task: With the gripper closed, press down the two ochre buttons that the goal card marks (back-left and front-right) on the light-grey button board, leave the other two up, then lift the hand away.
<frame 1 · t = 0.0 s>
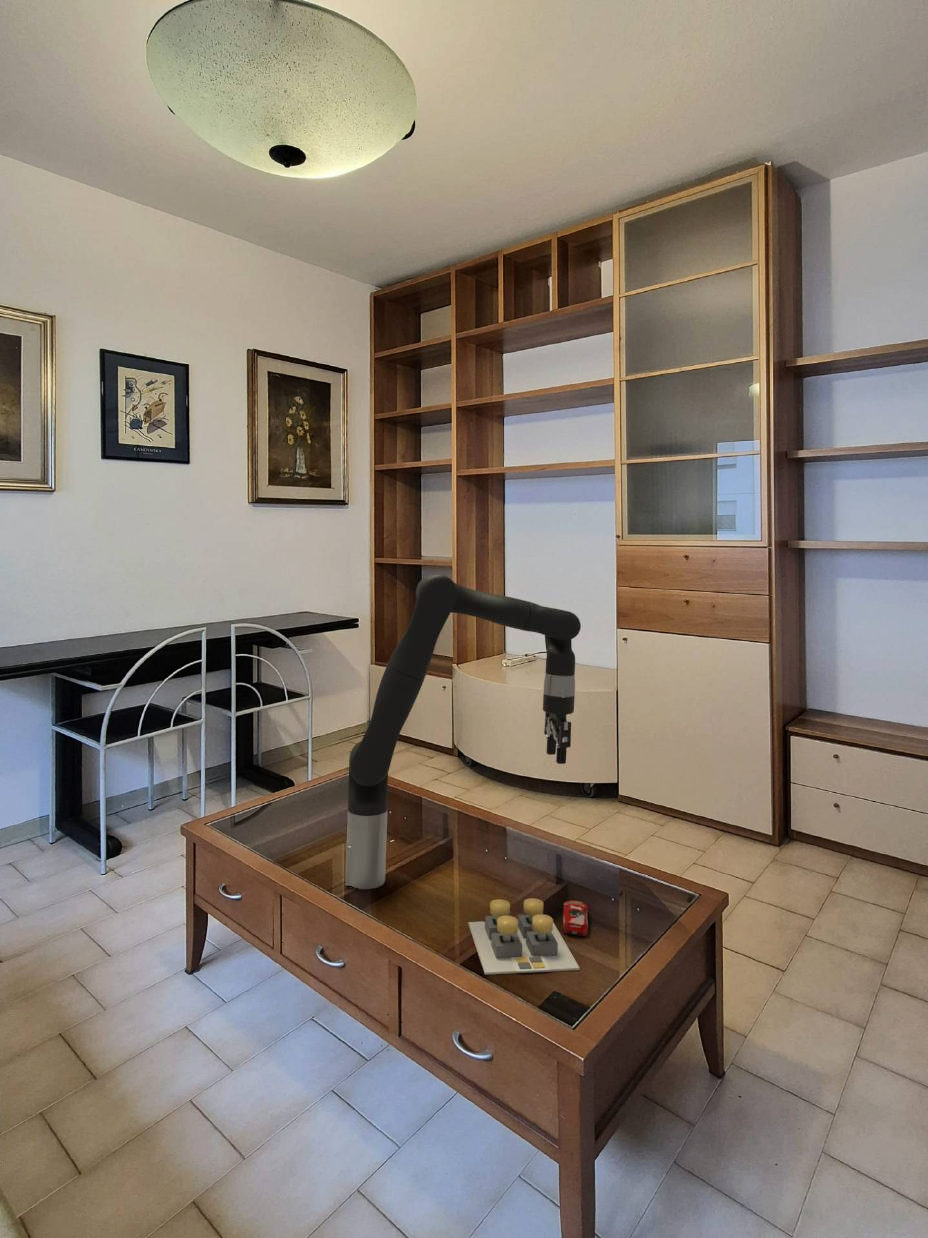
hand: (555, 758, 172), 29 cm above the table, fingers open, 8 cm apart
board: (520, 945, 140), on the table
button back left: (499, 914, 143), point 4 cm above the table, slide at 0.0 cm
button front right: (542, 930, 138), point 4 cm above the table, slide at 0.0 cm
button front left: (507, 931, 137), point 4 cm above the table, slide at 0.0 cm
race car: (575, 924, 150), on the table
button back right: (533, 913, 145), point 4 cm above the table, slide at 0.0 cm
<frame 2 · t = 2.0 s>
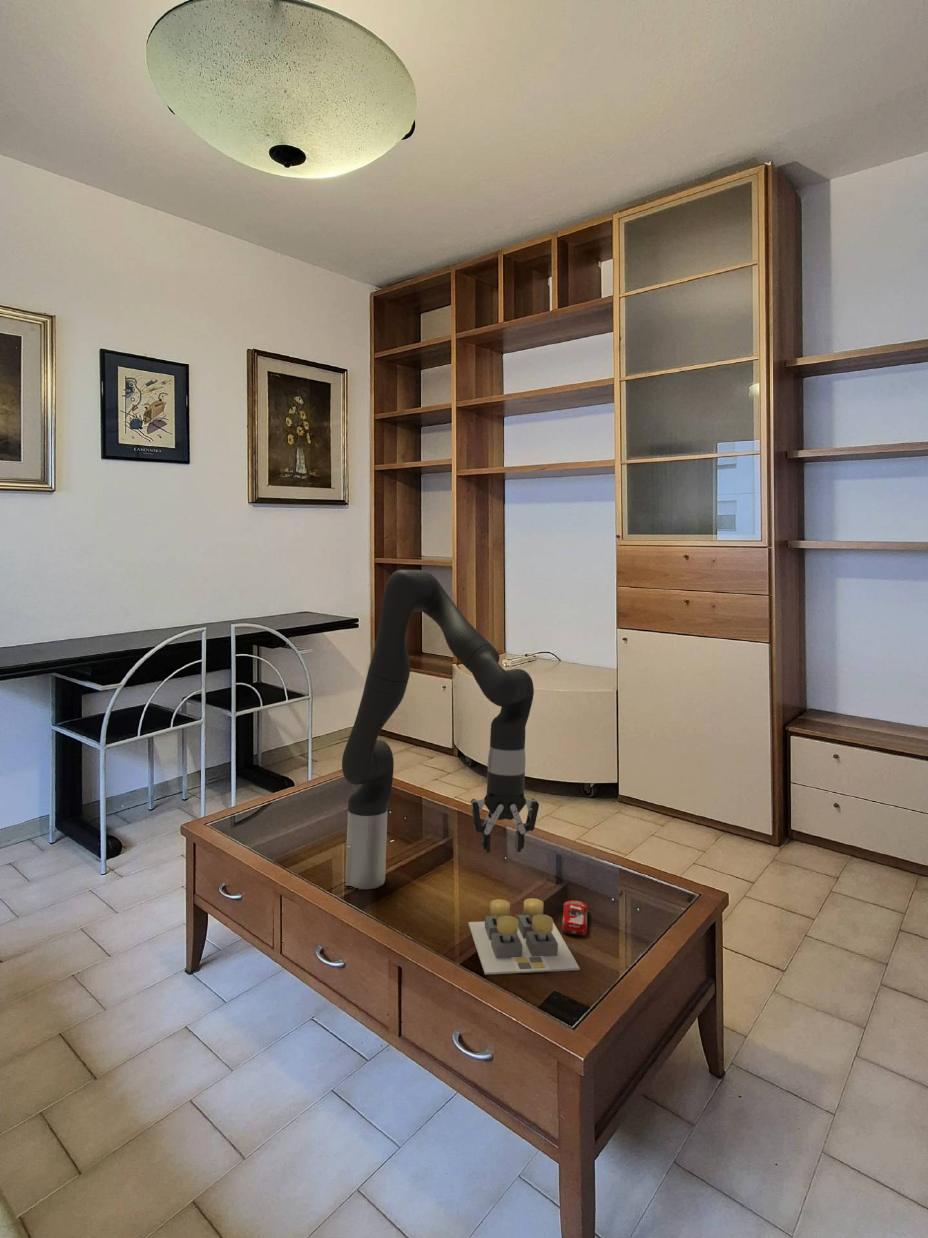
hand: (502, 850, 143), 18 cm above the table, fingers open, 5 cm apart
nothing on the table moved.
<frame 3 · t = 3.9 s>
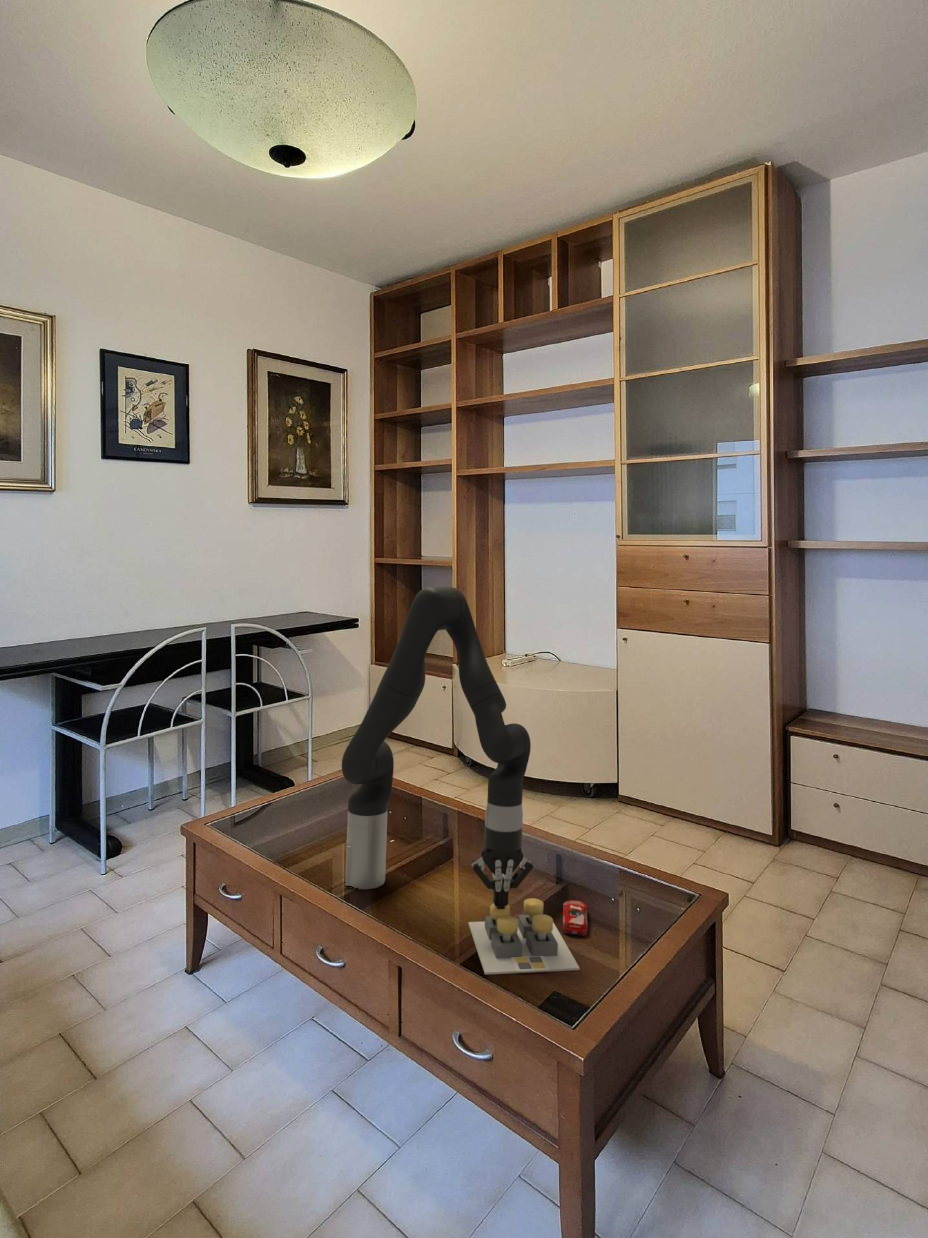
hand: (500, 907, 143), 6 cm above the table, fingers closed
button back left: (499, 917, 143), point 4 cm above the table, slide at 0.7 cm, touching gripper
everything else where it was.
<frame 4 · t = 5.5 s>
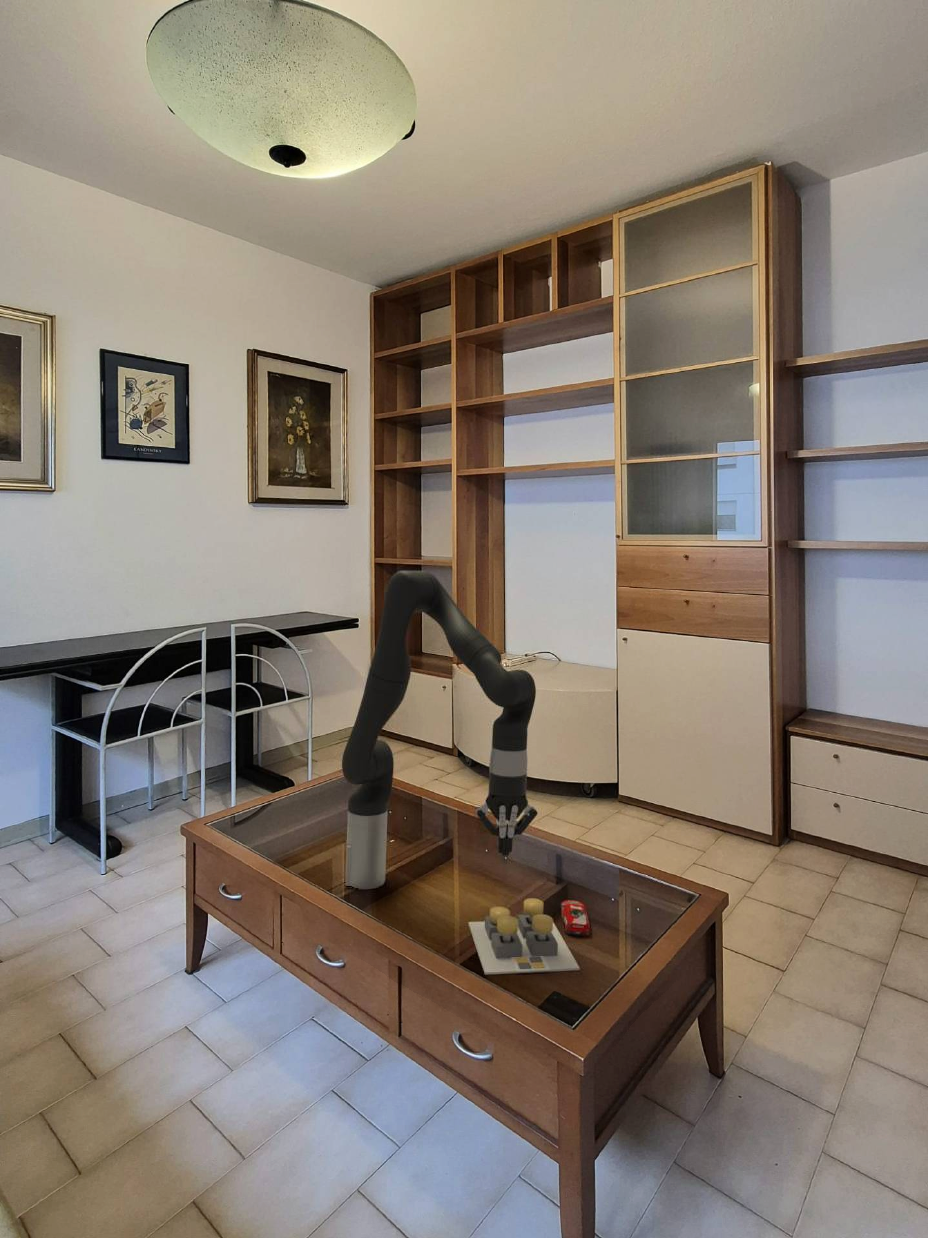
hand: (504, 854, 142), 17 cm above the table, fingers closed
button back left: (499, 921, 144), point 3 cm above the table, slide at 1.6 cm
everything else where it was.
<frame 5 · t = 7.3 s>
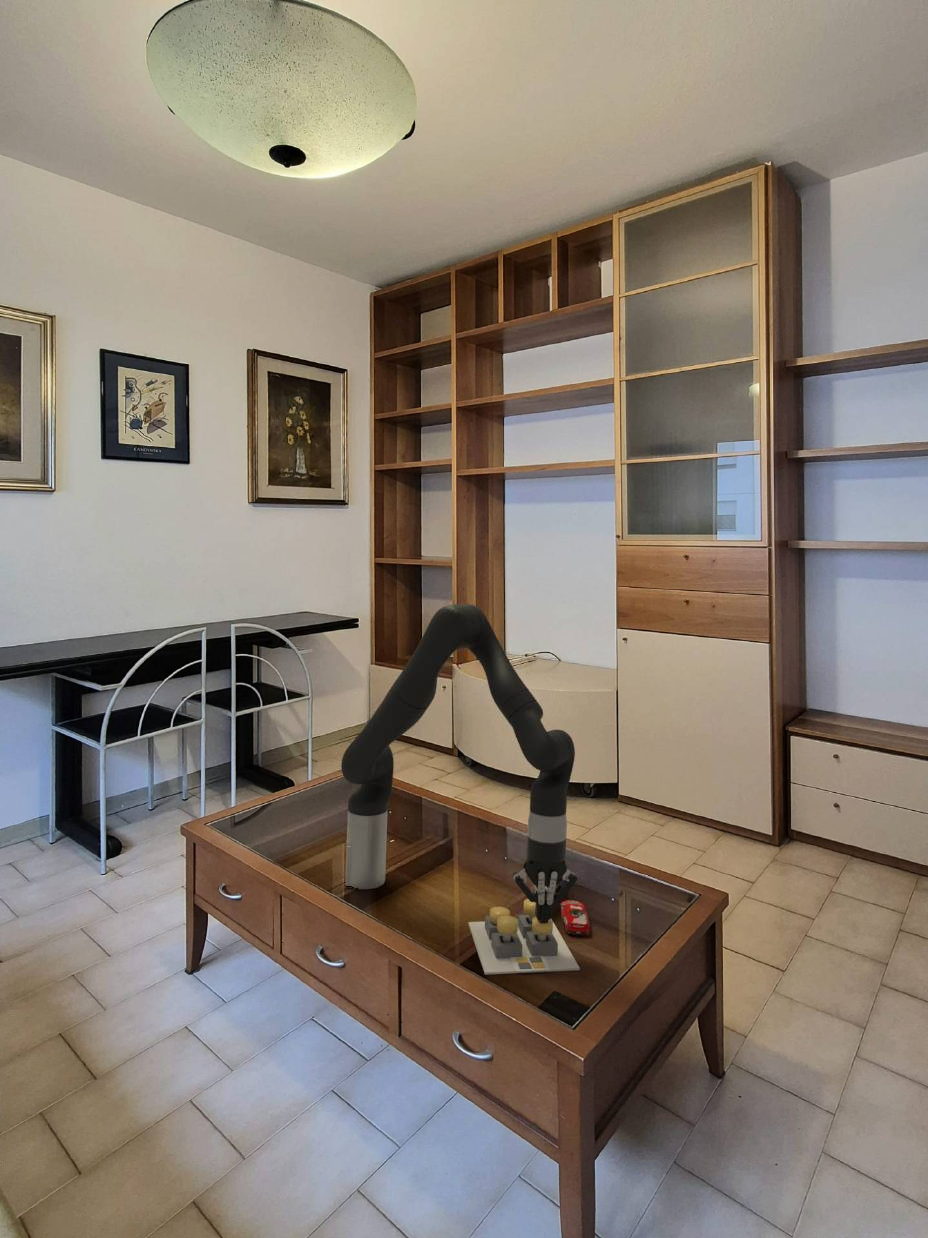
hand: (543, 921, 137), 6 cm above the table, fingers closed
button front right: (542, 932, 138), point 4 cm above the table, slide at 0.4 cm, touching gripper
everything else where it was.
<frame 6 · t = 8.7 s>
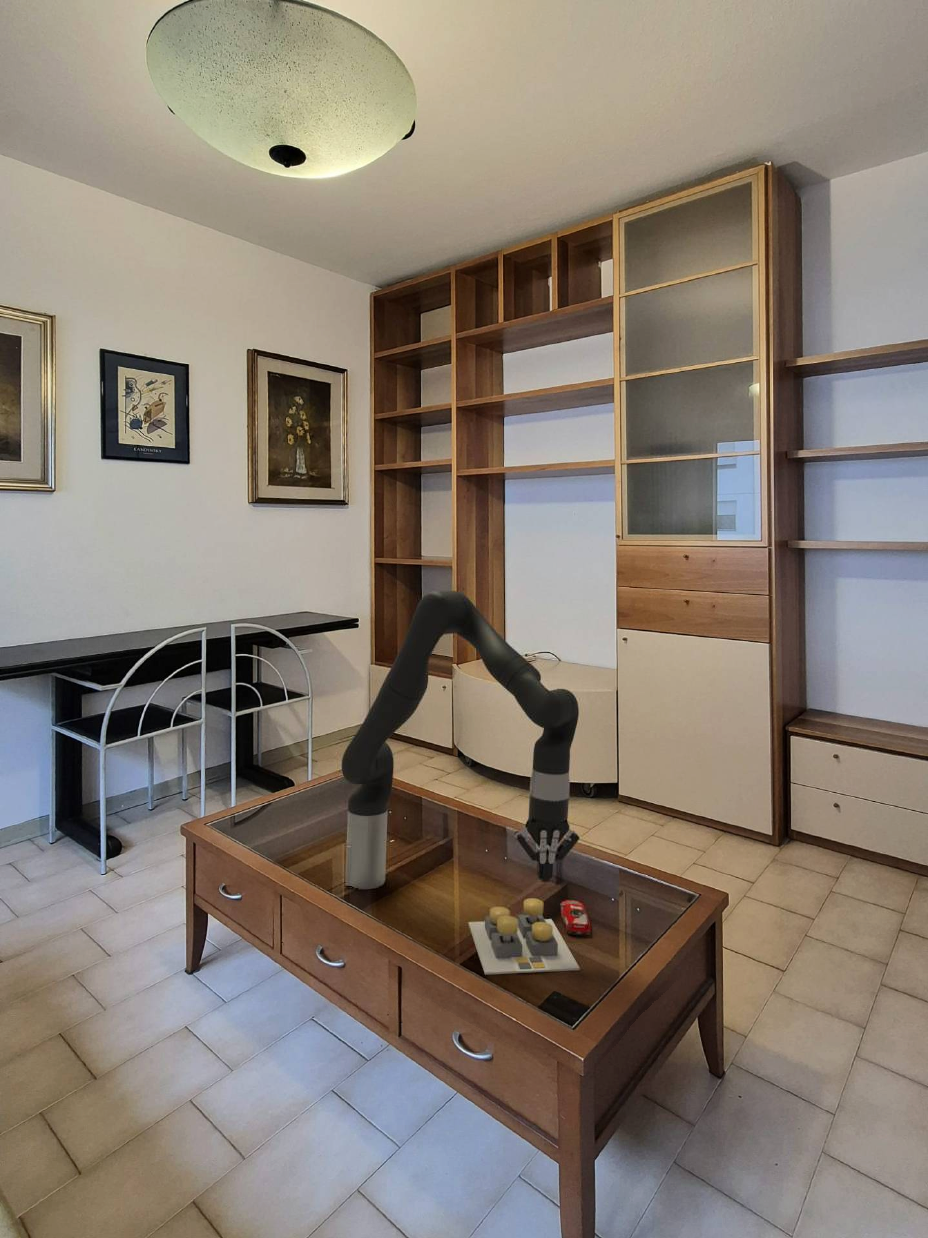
hand: (544, 880, 137), 14 cm above the table, fingers closed
button front right: (541, 937, 138), point 3 cm above the table, slide at 1.5 cm
everything else where it was.
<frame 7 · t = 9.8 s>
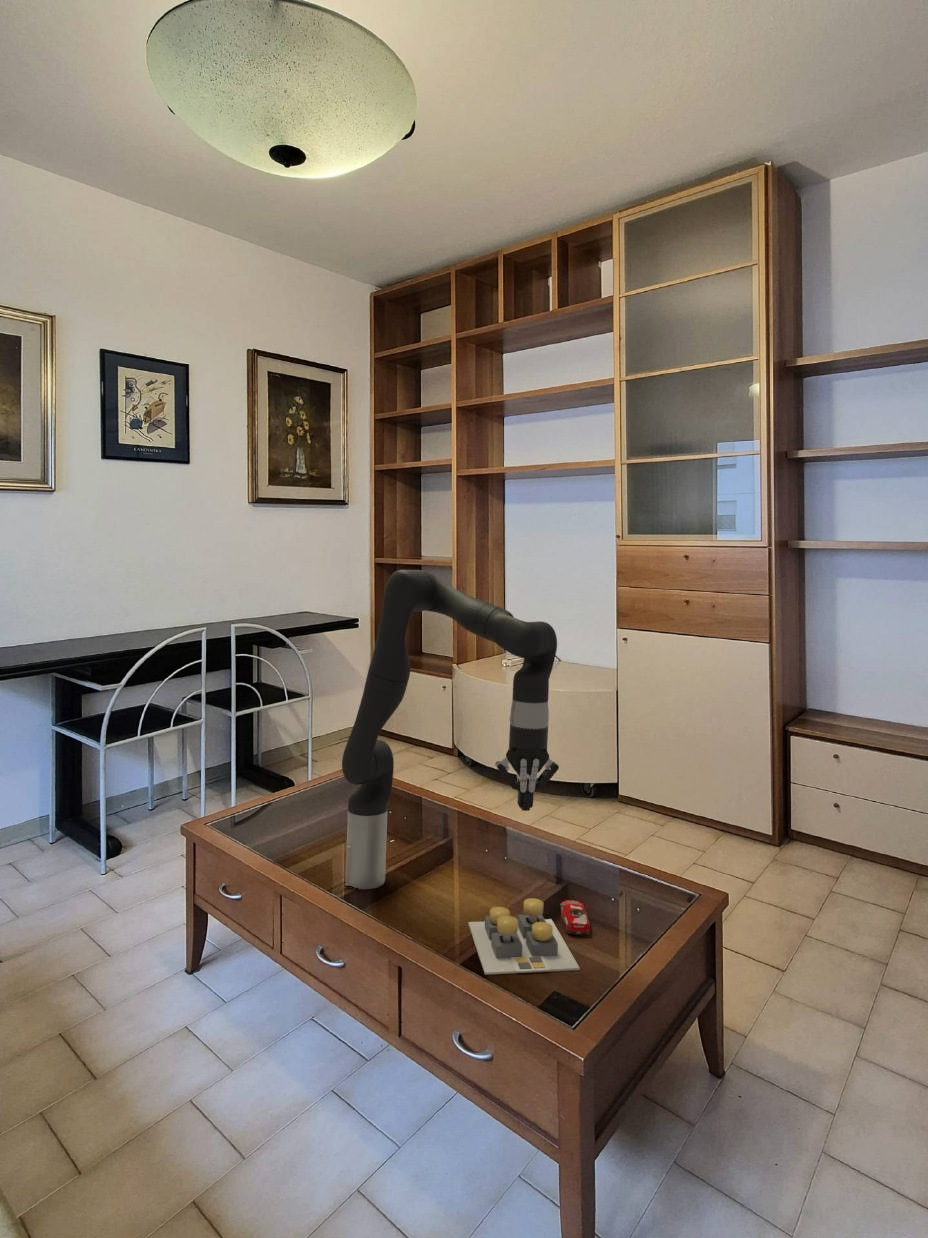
hand: (525, 809, 140), 27 cm above the table, fingers closed
nothing on the table moved.
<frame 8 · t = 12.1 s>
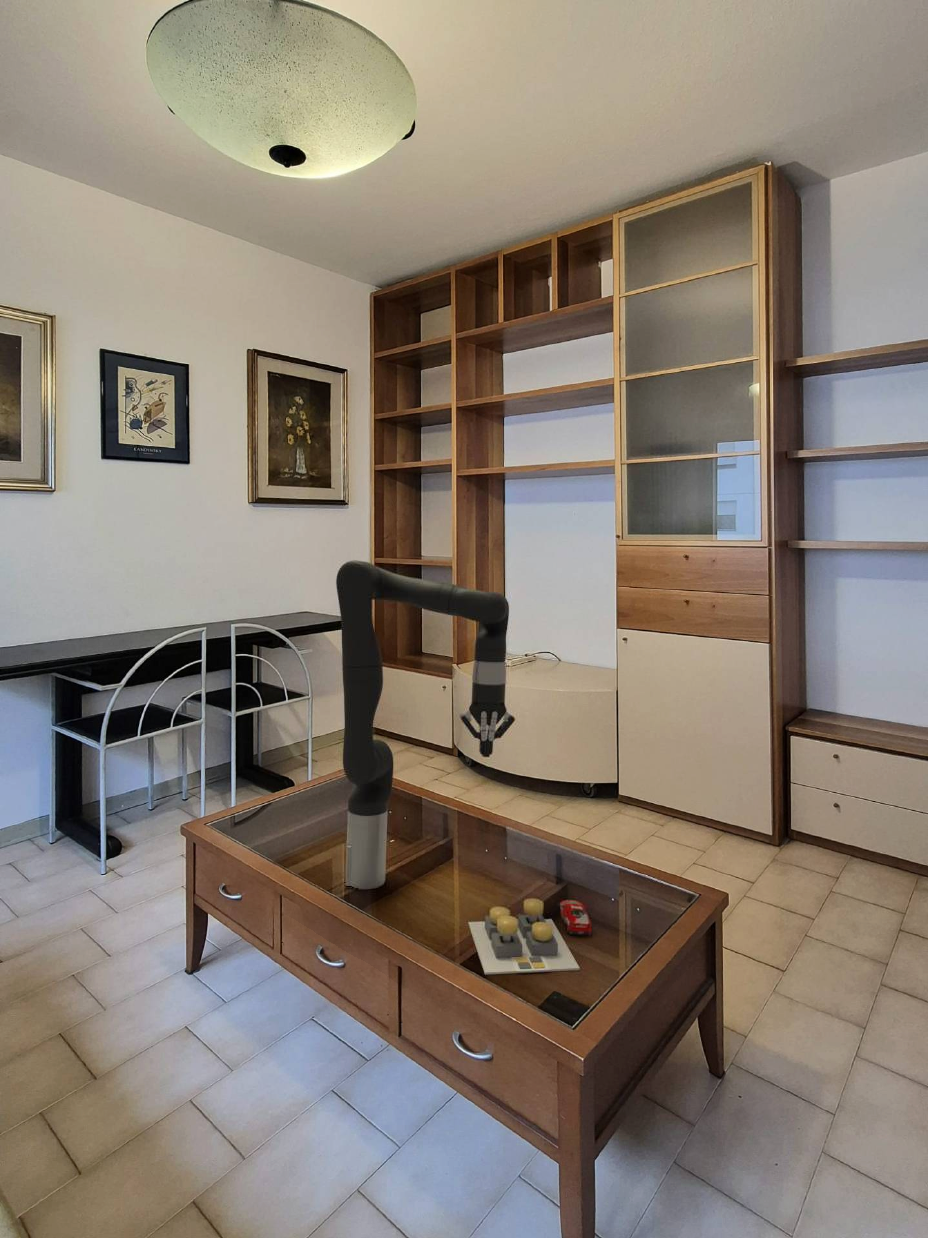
hand: (485, 756, 161), 32 cm above the table, fingers closed
nothing on the table moved.
at the end: button back left slide at 1.6 cm; button front right slide at 1.5 cm; button front left slide at 0.0 cm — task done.
